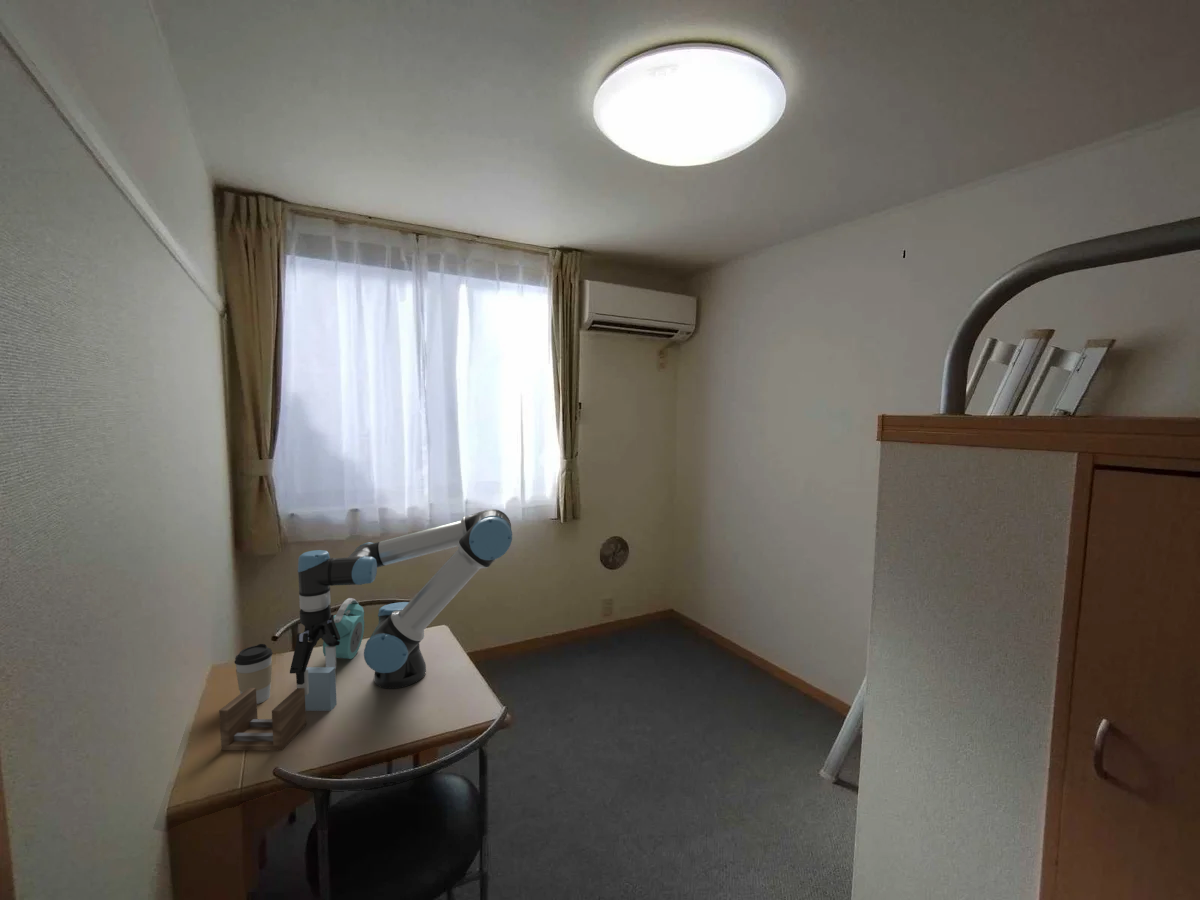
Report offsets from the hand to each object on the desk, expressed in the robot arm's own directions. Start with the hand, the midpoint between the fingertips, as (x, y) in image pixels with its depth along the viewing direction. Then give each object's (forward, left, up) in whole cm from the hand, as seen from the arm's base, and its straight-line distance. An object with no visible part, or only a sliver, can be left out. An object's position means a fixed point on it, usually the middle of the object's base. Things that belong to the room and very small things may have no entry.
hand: (317, 680), depth 139 cm
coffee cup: (+21, -4, -8) cm, 23 cm away
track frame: (+6, +13, -8) cm, 16 cm away
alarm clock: (+8, -29, -8) cm, 31 cm away
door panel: (0, 0, -8) cm, 8 cm away
